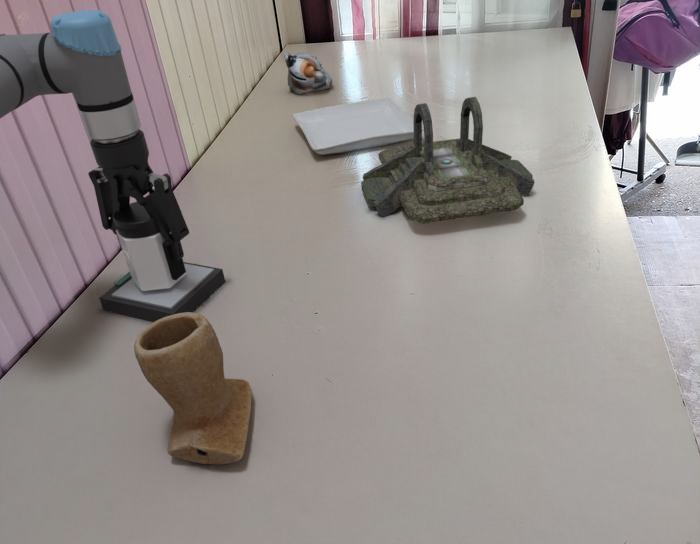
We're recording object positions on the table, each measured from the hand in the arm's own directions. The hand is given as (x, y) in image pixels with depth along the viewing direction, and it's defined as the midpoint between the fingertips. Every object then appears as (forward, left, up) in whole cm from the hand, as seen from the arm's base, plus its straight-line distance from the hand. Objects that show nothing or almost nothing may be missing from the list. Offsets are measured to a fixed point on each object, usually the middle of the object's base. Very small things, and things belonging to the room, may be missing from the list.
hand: (158, 271), depth 104 cm
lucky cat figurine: (-28, +109, -5) cm, 113 cm away
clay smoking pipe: (+25, -24, -5) cm, 35 cm away
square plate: (+1, +77, -5) cm, 77 cm away
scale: (0, 0, -5) cm, 5 cm away
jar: (0, 0, -1) cm, 1 cm away
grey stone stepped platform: (+33, +51, -5) cm, 61 cm away
